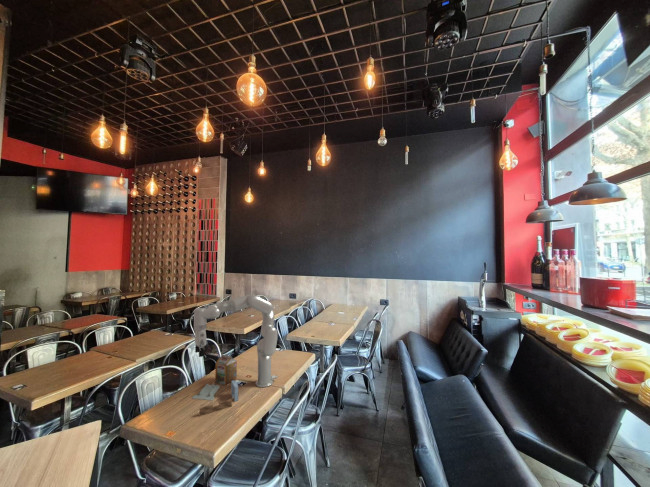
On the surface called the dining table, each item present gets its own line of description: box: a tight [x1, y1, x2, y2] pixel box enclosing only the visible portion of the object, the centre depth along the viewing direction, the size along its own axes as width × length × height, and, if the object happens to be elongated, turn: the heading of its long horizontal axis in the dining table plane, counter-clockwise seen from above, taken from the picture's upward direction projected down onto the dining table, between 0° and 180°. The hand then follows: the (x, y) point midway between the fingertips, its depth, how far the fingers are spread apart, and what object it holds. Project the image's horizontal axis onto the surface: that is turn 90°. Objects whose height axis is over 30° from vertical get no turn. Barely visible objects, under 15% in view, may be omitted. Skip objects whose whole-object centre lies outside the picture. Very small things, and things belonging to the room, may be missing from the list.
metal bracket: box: [191, 382, 221, 402], centre depth 176 cm, size 14×6×15 cm
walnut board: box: [198, 398, 233, 417], centre depth 157 cm, size 18×1×4 cm, turn 122°
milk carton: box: [214, 354, 238, 387], centre depth 195 cm, size 11×11×19 cm
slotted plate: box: [230, 380, 239, 402], centre depth 172 cm, size 10×2×9 cm, turn 32°
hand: (199, 354), depth 168 cm, fingers open, 9 cm apart
